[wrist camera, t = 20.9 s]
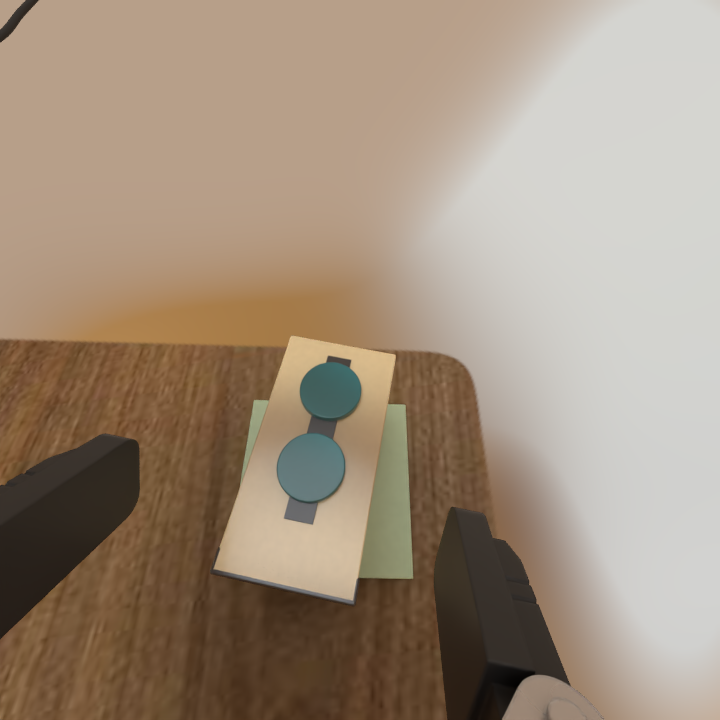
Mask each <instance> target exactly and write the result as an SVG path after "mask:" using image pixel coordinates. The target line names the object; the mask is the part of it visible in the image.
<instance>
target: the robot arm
mask: <svg viewBox="0 0 720 720" xmlns="http://www.w3.org/2000/svg"><path fill="white" fill-rule="evenodd" d="M37 1H38V0H26V1H25V2H24V3H23V4H22V5H21V6H20V7H19V8H18V9H17V10H16V11H15V12H14V14H13V15H12V17H11V18H10V19H9V20H8V22H7V23H6V24H5V25H4V26H3V28H2V29H0V42H2V41H3V40H4V39H5V38H7V37H8V36H9V35H10V34H11V33H12V32H13V31H14V29H15V28H16V26H17V25H18V24H19V22H20V21H21V19H22V18H23V17H24V16H25V15H26V13H27V12H28V11H29V10H30V9H31V8H32V7H33V6H34V5H35V4H36V3H37ZM139 491H140V480H139V444H138V442H137V441H136V440H134V439H129V438H124V437H119V436H115V435H110V434H101V435H99V436H97V437H95V438H94V439H92V440H90V441H89V442H87V443H85V444H84V445H82V446H80V447H79V448H77V449H73V450H70V451H68V452H65V453H62V454H59V455H56V456H53V457H50V458H48V459H46V460H44V461H43V462H41V463H39V464H37V465H36V466H34V467H32V468H30V469H29V470H27V471H26V473H25V474H20V475H18V476H16V477H15V478H13V479H11V480H9V481H8V482H7V483H6V485H5V486H4V485H1V486H0V639H1V638H2V637H3V636H4V635H5V634H6V633H7V632H8V631H9V630H10V629H11V628H12V627H13V626H14V625H15V624H17V623H18V622H19V621H20V620H21V619H22V618H23V617H24V616H25V615H26V614H27V613H28V612H29V611H30V610H31V609H32V608H33V607H34V606H35V605H36V604H37V603H38V602H40V601H41V600H42V599H43V598H44V597H45V596H46V595H47V594H48V593H49V592H50V591H51V590H52V589H53V588H54V587H55V586H56V585H57V584H58V583H59V582H60V581H62V580H63V579H64V578H65V577H66V576H67V575H68V574H69V573H70V572H71V571H72V570H73V569H74V568H75V567H76V566H77V565H78V564H79V563H80V562H81V561H82V560H83V559H85V558H86V557H87V556H88V555H89V554H90V553H91V552H92V551H93V550H94V549H95V548H96V547H97V546H98V545H99V544H100V543H101V542H102V541H103V540H104V539H105V538H106V537H108V536H109V535H110V534H111V533H112V532H113V531H114V530H115V529H116V528H117V527H118V526H119V525H120V524H121V523H122V522H123V521H124V520H125V519H126V518H127V517H128V516H129V515H130V514H131V512H132V511H133V509H134V507H135V505H136V503H137V501H138V497H139ZM434 591H435V601H436V611H437V621H438V631H439V641H440V651H441V661H442V671H443V681H444V691H445V701H446V711H447V720H604V718H603V717H602V715H601V714H600V713H599V712H598V711H597V709H596V708H595V707H594V706H593V705H592V704H591V703H590V702H589V701H588V700H587V699H586V698H585V697H584V696H583V695H581V693H579V692H578V691H577V690H575V689H574V688H572V687H571V685H570V683H569V681H568V679H567V676H566V673H565V671H564V668H563V666H562V663H561V661H560V658H559V656H558V653H557V650H556V648H555V646H554V643H553V641H552V638H551V636H550V633H549V631H548V628H547V625H546V623H545V620H544V618H543V615H542V613H541V610H540V607H539V605H538V604H536V597H535V595H534V592H533V590H532V587H531V586H530V585H529V580H528V577H527V574H526V572H525V569H524V567H523V564H522V562H521V560H520V559H519V557H518V556H517V555H516V554H515V552H514V551H513V550H512V549H511V548H510V546H509V545H508V544H507V543H506V541H504V540H500V539H495V538H492V535H491V532H490V529H489V526H488V522H487V519H486V517H485V515H484V514H483V513H480V512H475V511H470V510H466V509H461V508H456V507H451V509H450V511H449V513H448V517H447V520H446V524H445V527H444V531H443V535H442V538H441V542H440V546H439V549H438V553H437V557H436V561H435V569H434Z"/></svg>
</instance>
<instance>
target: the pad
mask: <svg viewBox="0 0 720 720" xmlns="http://www.w3.org/2000/svg"><path fill="white" fill-rule="evenodd" d="M268 402H269V400H254V403H253V410H252V416H251V422H250V428H249V434H248V440H247V446H246V452H245V458H244V464H243V470H242V476H241V482H242V479H243V476H244V473H245V471H246V468H247V465H248V462H249V459H250V456H251V453H252V450H253V447H254V444H255V441H256V438H257V435H258V432H259V429H260V426H261V423H262V420H263V417H264V414H265V411H266V408H267V405H268ZM241 482H240V485H241ZM359 578H388V579H413V562H412V539H411V517H410V495H409V472H408V450H407V427H406V406H405V405H401V404H388V406H387V412H386V418H385V424H384V430H383V436H382V442H381V448H380V454H379V460H378V466H377V471H376V477H375V483H374V489H373V495H372V501H371V507H370V513H369V519H368V525H367V531H366V536H365V542H364V548H363V554H362V560H361V566H360V572H359Z"/></svg>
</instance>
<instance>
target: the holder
mask: <svg viewBox="0 0 720 720" xmlns="http://www.w3.org/2000/svg"><path fill="white" fill-rule="evenodd" d="M395 359H396V355H393V354H388V353H382V352H377V351H372V350H366V349H361V348H356V347H351V346H345V345H339V344H335V343H329V342H324V341H319V340H313V339H308V338H303V337H297V336H291V337H290V340H289V343H288V346H287V349H286V352H285V355H284V358H283V361H282V364H281V367H280V370H279V373H278V376H277V379H276V382H275V385H274V388H273V390H272V393H271V396H270V399H269V402H268V405H267V408H266V411H265V414H264V417H263V420H262V423H261V426H260V429H259V432H258V435H257V438H256V441H255V444H254V447H253V450H252V453H251V456H250V459H249V462H248V465H247V468H246V471H245V473H244V476H243V479H242V482H241V485H240V488H239V491H238V494H237V497H236V500H235V503H234V506H233V509H232V512H231V515H230V518H229V521H228V524H227V527H226V530H225V533H224V536H223V539H222V542H221V545H220V547H218V549H217V552H216V555H215V558H214V561H213V564H212V567H211V570H210V573H211V574H213V575H217V576H221V577H226V578H230V579H235V580H239V581H243V582H248V583H252V584H256V585H261V586H265V587H270V588H274V589H278V590H283V591H287V592H292V593H296V594H300V595H305V596H309V597H313V598H318V599H322V600H327V601H331V602H335V603H340V604H344V605H348V606H355V605H356V599H357V593H358V587H359V581H360V579H359V572H360V566H361V560H362V554H363V548H364V542H365V536H366V531H367V525H368V519H369V513H370V507H371V501H372V495H373V489H374V483H375V477H376V471H377V466H378V460H379V454H380V448H381V442H382V436H383V430H384V424H385V418H386V412H387V406H388V401H389V395H390V389H391V383H392V377H393V371H394V365H395Z"/></svg>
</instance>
